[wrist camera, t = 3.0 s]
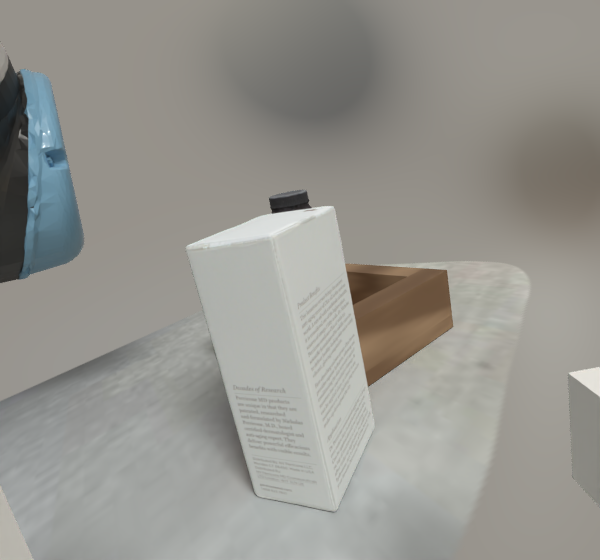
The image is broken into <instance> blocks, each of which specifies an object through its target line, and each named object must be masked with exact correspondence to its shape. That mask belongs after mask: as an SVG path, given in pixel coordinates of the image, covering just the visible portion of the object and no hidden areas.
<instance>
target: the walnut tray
mask: <svg viewBox="0 0 600 560" xmlns="http://www.w3.org/2000/svg"><path fill="white" fill-rule="evenodd" d="M345 267H346V272H347V277H348V283H349V288H350V294H351V298H352V305H353V310H354V315H355V321H356V326H357V332H358V337H359V342H360V348H361V353H362V358H363V363H364V369H365V374H366V379H367V385H368V386H370V385H371V384H372V383H374V382H375V381H377V380H378V379H380V378H381V377H382V376H384V375H385V374H387V373H388V372H389V371H391V370H392V369H394V368H395V367H397V366H398V365H399V364H401V363H402V362H404V361H405V360H406V359H408V358H409V357H411V356H412V355H414V354H415V353H416V352H418V351H419V350H421V349H422V348H424V347H425V346H426V345H428V344H429V343H431V342H432V341H433V340H435V339H436V338H438V337H439V336H441V335H442V334H443V333H445V332H446V331H448V330H449V329H450V328H452V327H453V321H452V312H451V303H450V294H449V285H448V276H447V270H437V269H422V268H406V267H391V266H375V265H358V264H345Z"/></svg>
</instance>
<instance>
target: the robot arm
mask: <svg viewBox="0 0 600 560" xmlns="http://www.w3.org/2000/svg"><path fill="white" fill-rule="evenodd" d="M83 244H84V233H83V229H82V224H81V220H80V215H79V210H78V205H77V201H76V197H75V192H74V187H73V182H72V178H71V173H70V169H69V165H68V160H67V155H66V151H65V146H64V142H63V136H62V132H61V127H60V123H59V118H58V113H57V109H56V104H55V100H54V95H53V91H52V86H51V82H50V80H49V78H48V77H47V76H45V75H44V74H42V73H38V72H37V73H35V72H31V71H29V70H26V71H25V69H22V70H20V71H19V72H17V73H15V71H14V69H13V67H12V64H11V62H10V60H9V57H8V55H7V53H6V50H5V48H4V46H3V45H2V43H1V42H0V283H2V282H7V281H11V280H16V279H25V278H27V277H28V276H29V275H30V274H33V273H36V272H40V271H43V270H46V269H49V268H53V267H56V266H59V265H62V264H66V263H68V262H70V261H71V260H73V259H74V258H75V257H76V256H77V255H78V254H79V253H80V252H81V250H82V248H83ZM568 383H569V384H568V385H569V408H570V430H571V452H572V477H573V479H574V480H575V481H576V482H577V483H578V484H579V485H580V486H581V487H582V488H583V490H584V491H585V492H586V493H587V494H588V495H589V496H590V498H591V499H592V500H593V501H594V502H595V503H596V504H597V505H598V507H599V508H600V367H597V368H592V369H586V370H581V371H576V372H570V373H568ZM0 560H33V558H32V555H31V553H30V551H29V549H28V546H27V544H26V542H25V540H24V537H23V535H22V533H21V531H20V528H19V526H18V524H17V522H16V519H15V517H14V515H13V513H12V510H11V508H10V506H9V504H8V501H7V499H6V497H5V495H4V492H3V490H2V488H1V486H0Z"/></svg>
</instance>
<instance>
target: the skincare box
mask: <svg viewBox="0 0 600 560" xmlns="http://www.w3.org/2000/svg"><path fill="white" fill-rule="evenodd" d="M186 252H187V255H188V259H189V263H190V266H191V270H192V273H193V277H194V280H195V284H196V287H197V291H198V294H199V298H200V301H201V305H202V308H203V312H204V316H205V319H206V323H207V326H208V330H209V333H210V337H211V341H212V344H213V347H214V351H215V354H216V358H217V361H218V365H219V368H220V372H221V376H222V380H223V383H224V386H225V390H226V394H227V397H228V401H229V404H230V407H231V411H232V414H233V418H234V422H235V425H236V429H237V432H238V436H239V439H240V443H241V446H242V450H243V454H244V457H245V460H246V464H247V467H248V471H249V474H250V478H251V481H252V485H253V489H254V492H255V494H256V495H257V496H258V497H260V498H266V499H272V500H277V501H282V502H287V503H292V504H297V505H302V506H306V507H311V508H316V509H320V510H325V511H332V512H335V511H337V509H338V507H339V505H340V502H341V500H342V498H343V496H344V493H345V491H346V489H347V487H348V484H349V482H350V480H351V478H352V476H353V473H354V471H355V469H356V467H357V465H358V462H359V460H360V458H361V456H362V454H363V451H364V449H365V447H366V445H367V443H368V441H369V438H370V436H371V434H372V432H373V430H374V427H375V423H374V417H373V412H372V407H371V401H370V396H369V390H368V385H367V379H366V374H365V369H364V363H363V358H362V353H361V348H360V342H359V337H358V332H357V326H356V321H355V315H354V310H353V305H352V298H351V294H350V288H349V283H348V277H347V272H346V267H345V261H344V255H343V250H342V244H341V239H340V233H339V228H338V223H337V219H336V213H335V209H334V207H333V206H324V207H318V208H310V209H303V210H295V211H288V212H281V213H274V214H268V215H263V216H259V217H257V218H254V219H252V220H250V221H248V222H245V223H243V224H241V225H238V226H236V227H233V228H230V229H227V230H225V231H222V232H219V233H217V234H215V235H212V236H210V237H207V238H205V239H202V240H200V241H197V242H195V243H193V244H190V245H188V246H186Z"/></svg>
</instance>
